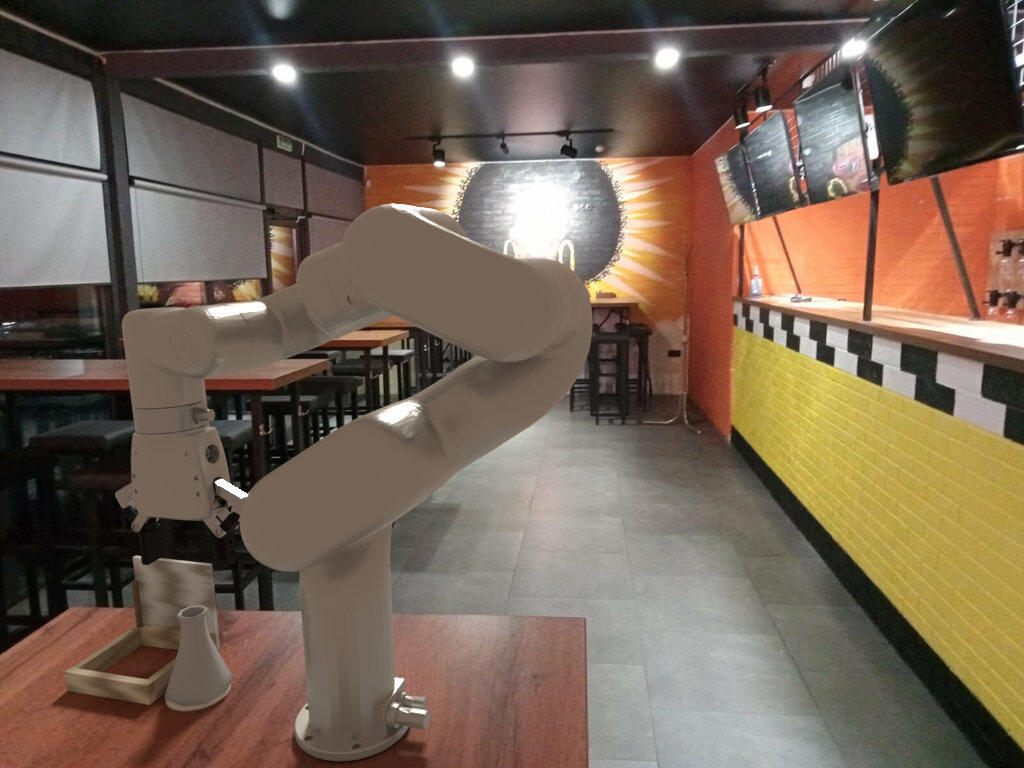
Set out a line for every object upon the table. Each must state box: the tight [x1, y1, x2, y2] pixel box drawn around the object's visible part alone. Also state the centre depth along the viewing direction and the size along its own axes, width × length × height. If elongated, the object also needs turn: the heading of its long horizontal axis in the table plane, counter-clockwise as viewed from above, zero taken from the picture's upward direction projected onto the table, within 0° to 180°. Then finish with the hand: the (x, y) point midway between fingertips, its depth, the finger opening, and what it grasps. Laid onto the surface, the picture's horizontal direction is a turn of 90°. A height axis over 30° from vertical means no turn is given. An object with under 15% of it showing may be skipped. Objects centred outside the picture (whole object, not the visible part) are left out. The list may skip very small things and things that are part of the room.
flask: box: [164, 605, 234, 705], centre depth 85 cm, size 7×7×10 cm
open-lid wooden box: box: [64, 555, 221, 706], centre depth 90 cm, size 12×13×12 cm
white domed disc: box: [164, 681, 232, 713], centre depth 86 cm, size 7×7×1 cm
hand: (189, 563), depth 83 cm, fingers open, 9 cm apart
